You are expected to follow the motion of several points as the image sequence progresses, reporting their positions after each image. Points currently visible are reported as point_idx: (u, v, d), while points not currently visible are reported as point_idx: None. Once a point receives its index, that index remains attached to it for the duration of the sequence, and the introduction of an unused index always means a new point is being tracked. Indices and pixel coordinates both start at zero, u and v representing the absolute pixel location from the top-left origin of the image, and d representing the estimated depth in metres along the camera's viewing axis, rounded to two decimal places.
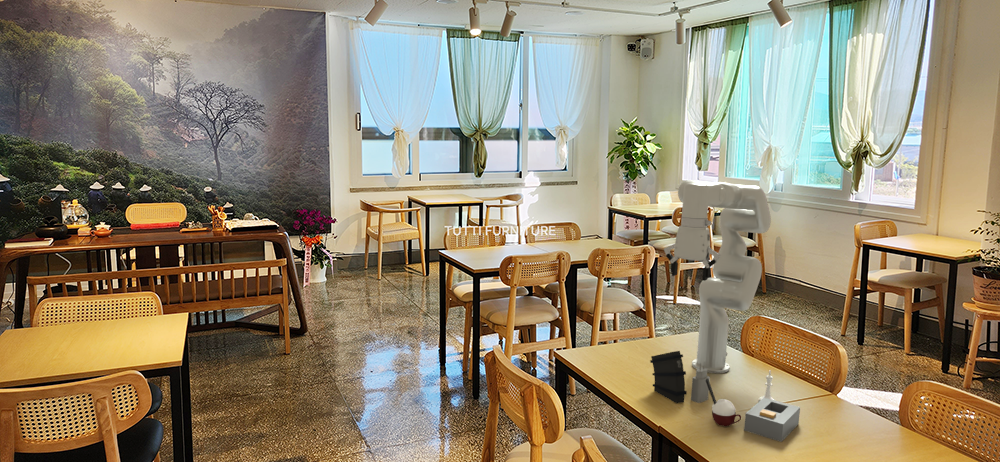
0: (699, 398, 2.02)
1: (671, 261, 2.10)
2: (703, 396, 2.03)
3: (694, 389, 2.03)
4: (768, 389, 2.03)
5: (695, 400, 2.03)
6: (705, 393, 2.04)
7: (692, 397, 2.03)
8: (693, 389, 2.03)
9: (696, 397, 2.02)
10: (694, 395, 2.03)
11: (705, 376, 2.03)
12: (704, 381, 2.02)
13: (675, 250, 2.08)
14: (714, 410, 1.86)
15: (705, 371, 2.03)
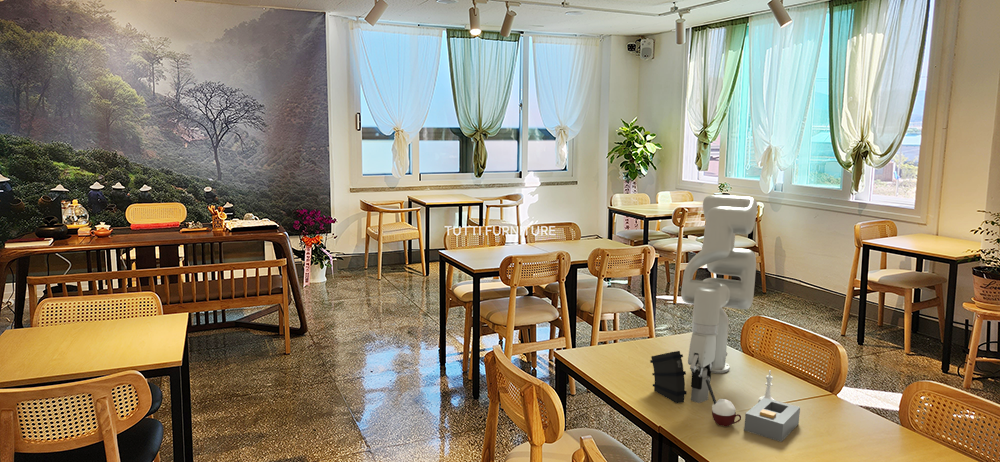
0: (699, 397, 2.02)
1: (700, 375, 1.99)
2: (703, 396, 2.03)
3: (694, 388, 2.03)
4: (768, 389, 2.03)
5: (695, 400, 2.03)
6: (705, 393, 2.04)
7: (692, 397, 2.03)
8: (693, 389, 2.03)
9: (696, 397, 2.02)
10: (694, 395, 2.03)
11: (705, 376, 2.03)
12: (704, 381, 2.02)
13: (703, 361, 1.98)
14: (714, 410, 1.86)
15: (705, 371, 2.03)
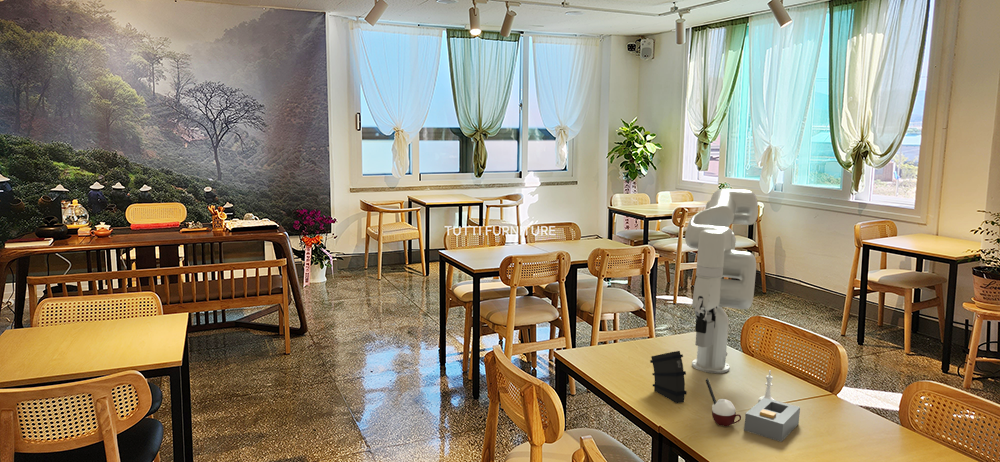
0: (704, 342, 2.00)
1: (704, 319, 1.97)
2: (708, 340, 2.01)
3: (698, 333, 2.00)
4: (768, 389, 2.03)
5: (700, 344, 2.01)
6: (710, 338, 2.01)
7: (696, 342, 2.01)
8: (697, 333, 2.01)
9: (701, 341, 2.00)
10: (699, 339, 2.01)
11: (710, 320, 2.01)
12: (709, 325, 2.00)
13: (707, 304, 1.96)
14: (714, 410, 1.86)
15: (710, 315, 2.00)
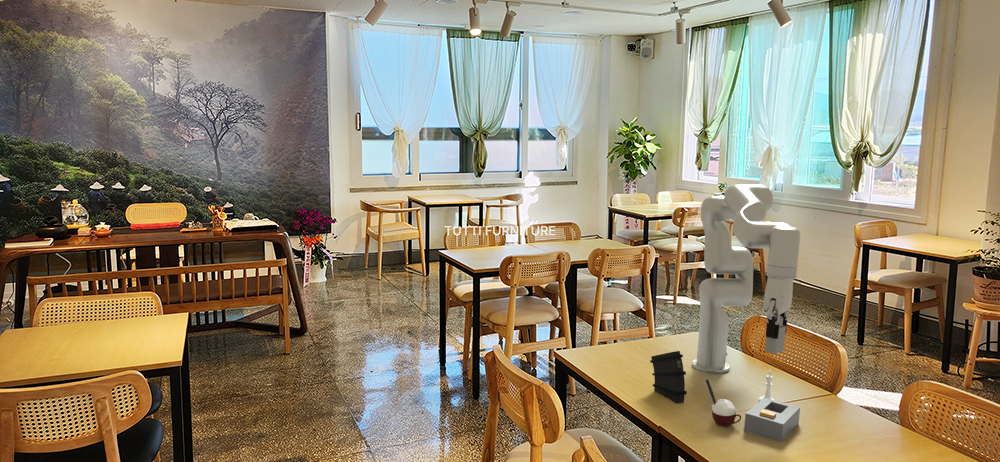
0: (775, 348, 1.84)
1: (776, 323, 1.82)
2: (779, 347, 1.85)
3: (769, 338, 1.85)
4: (768, 389, 2.03)
5: (770, 351, 1.85)
6: (781, 344, 1.86)
7: (766, 348, 1.86)
8: (768, 339, 1.85)
9: (771, 347, 1.84)
10: (769, 345, 1.85)
11: (781, 325, 1.85)
12: (780, 330, 1.84)
13: (781, 307, 1.80)
14: (714, 410, 1.86)
15: (781, 319, 1.85)
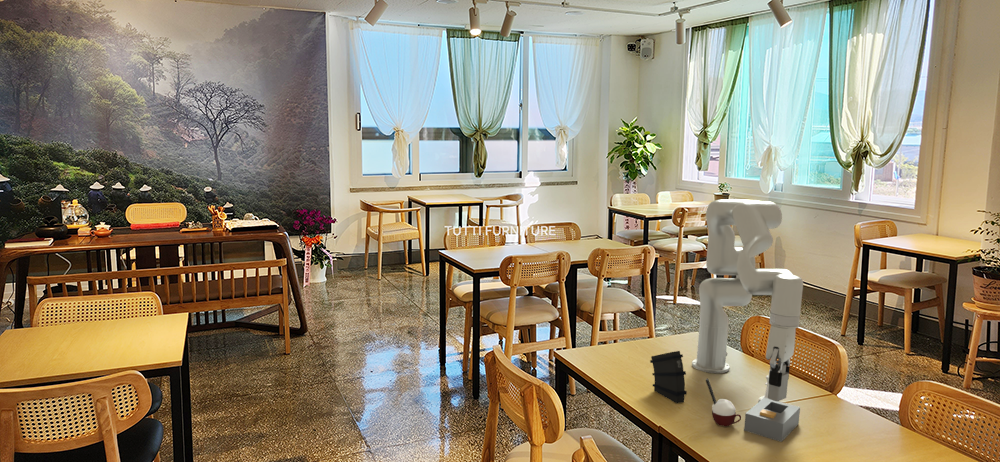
0: (778, 395, 1.85)
1: (779, 371, 1.82)
2: (782, 394, 1.86)
3: (772, 386, 1.85)
4: (768, 389, 2.03)
5: (773, 398, 1.85)
6: (784, 391, 1.86)
7: (769, 395, 1.86)
8: (771, 386, 1.86)
9: (774, 395, 1.85)
10: (772, 393, 1.86)
11: (784, 372, 1.86)
12: (783, 377, 1.85)
13: (784, 356, 1.81)
14: (714, 410, 1.86)
15: (784, 366, 1.86)
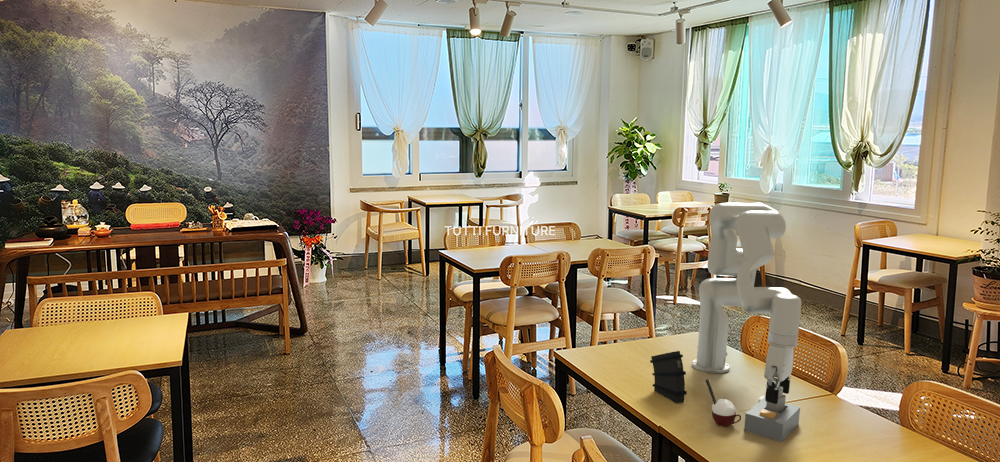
0: None
1: (776, 388, 1.82)
2: None
3: (769, 409, 1.87)
4: None
5: None
6: None
7: None
8: (768, 409, 1.87)
9: None
10: None
11: (781, 395, 1.87)
12: (780, 400, 1.86)
13: (782, 375, 1.81)
14: (714, 410, 1.86)
15: (781, 390, 1.87)
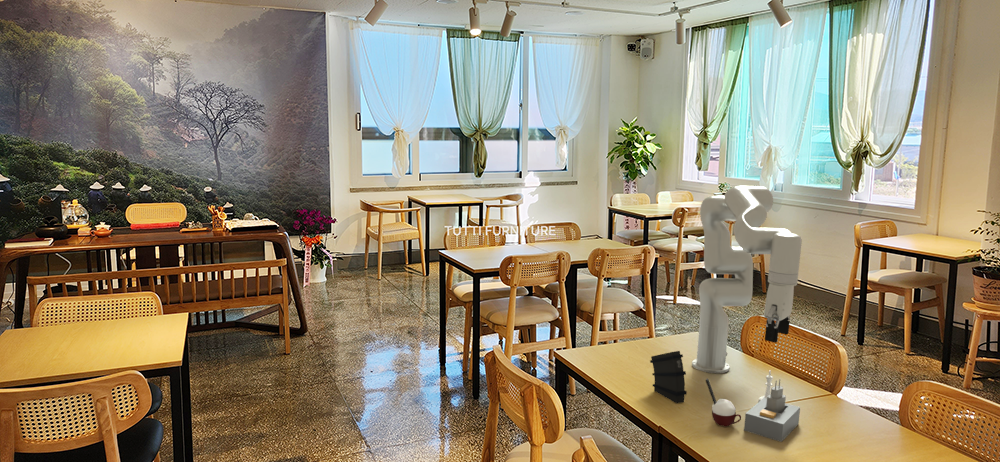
0: None
1: (776, 327, 1.82)
2: None
3: (769, 409, 1.87)
4: (768, 389, 2.03)
5: None
6: None
7: None
8: (768, 409, 1.87)
9: None
10: None
11: (781, 395, 1.87)
12: (780, 401, 1.86)
13: (782, 313, 1.81)
14: (714, 410, 1.86)
15: (781, 390, 1.87)
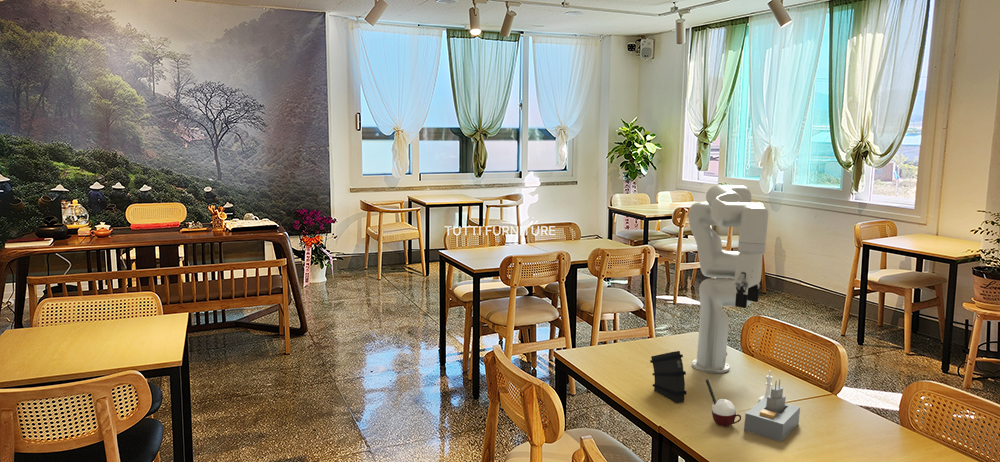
0: None
1: (745, 293, 1.95)
2: None
3: (769, 409, 1.87)
4: (768, 389, 2.03)
5: None
6: None
7: None
8: (768, 409, 1.87)
9: None
10: None
11: (781, 395, 1.87)
12: (780, 401, 1.86)
13: (750, 280, 1.95)
14: (714, 410, 1.86)
15: (781, 390, 1.87)
